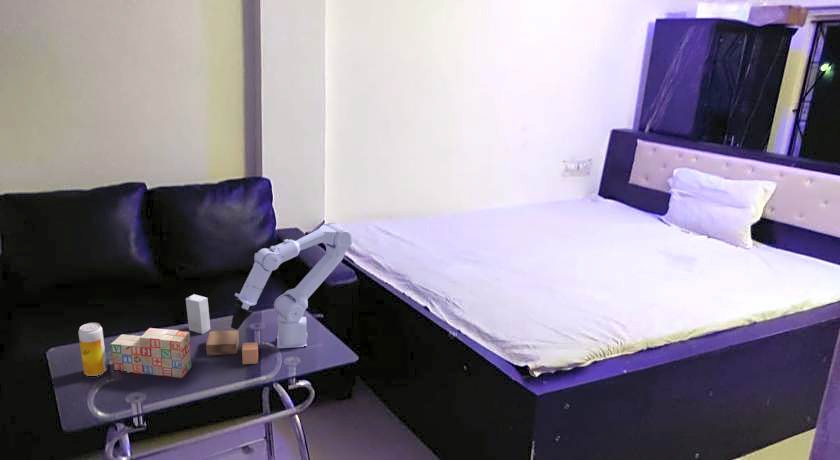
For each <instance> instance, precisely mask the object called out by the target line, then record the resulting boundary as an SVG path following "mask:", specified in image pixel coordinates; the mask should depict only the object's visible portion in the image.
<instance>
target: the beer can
mask: <svg viewBox="0 0 840 460" xmlns="http://www.w3.org/2000/svg"><path fill="white" fill-rule="evenodd" d="M78 339H79V347H80V354H81V361H82V368H83V374H84V375H86V376H87V377H88V376H97V377H99V376H98V375H100V376H102V375H104V374H105V373H106V371H107V370H108V365H107V358H106V357H107V356H106V348H105V341H104V331H103V327H102V326H101V324H100V323H98V322H88V323H84V324H83V325H81V326H80V327H79V329H78ZM104 372H105V373H104ZM103 373H104V374H103ZM101 374H102V375H101Z"/></svg>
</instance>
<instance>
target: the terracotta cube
mask: <svg viewBox="0 0 840 460" xmlns="http://www.w3.org/2000/svg"><path fill="white" fill-rule="evenodd" d="M241 352H242V354H241V355H242V356H241V357H242V365H250V364H251V365H252V364H254V365H255V364H258V363H259V342H257V341H256V342H253V341H252V342H243V343H242V349H241Z"/></svg>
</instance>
